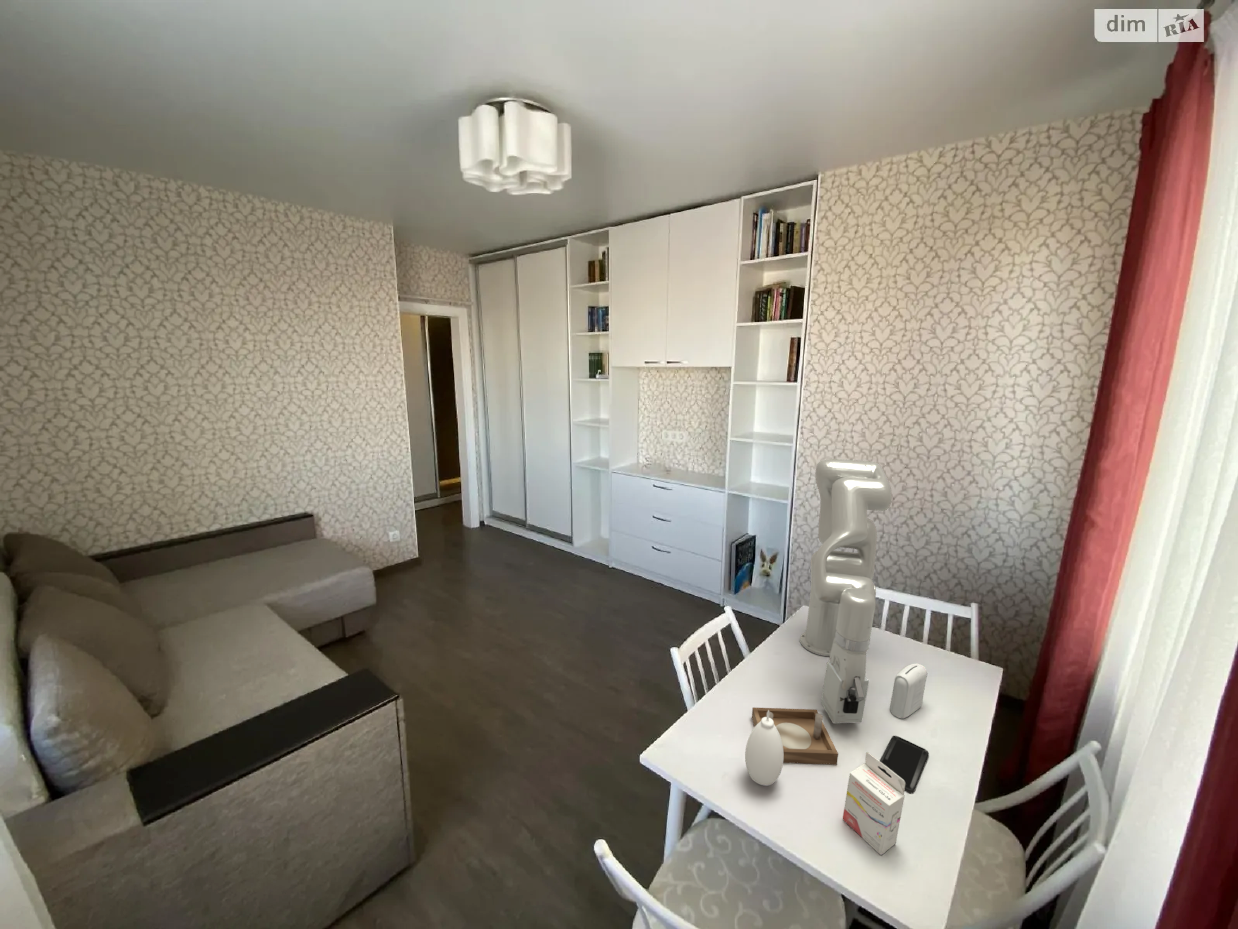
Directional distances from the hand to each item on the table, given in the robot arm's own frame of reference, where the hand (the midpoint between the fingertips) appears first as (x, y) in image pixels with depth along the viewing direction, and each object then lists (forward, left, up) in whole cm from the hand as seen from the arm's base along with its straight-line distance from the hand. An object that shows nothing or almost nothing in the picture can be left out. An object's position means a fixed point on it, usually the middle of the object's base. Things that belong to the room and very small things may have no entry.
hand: (843, 699), depth 126 cm
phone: (+13, +9, -7) cm, 17 cm away
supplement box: (0, 0, -4) cm, 4 cm away
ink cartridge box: (+30, -6, -6) cm, 31 cm away
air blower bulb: (+19, -24, -6) cm, 31 cm away
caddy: (+7, -14, -6) cm, 17 cm away
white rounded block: (-5, +19, -6) cm, 20 cm away
